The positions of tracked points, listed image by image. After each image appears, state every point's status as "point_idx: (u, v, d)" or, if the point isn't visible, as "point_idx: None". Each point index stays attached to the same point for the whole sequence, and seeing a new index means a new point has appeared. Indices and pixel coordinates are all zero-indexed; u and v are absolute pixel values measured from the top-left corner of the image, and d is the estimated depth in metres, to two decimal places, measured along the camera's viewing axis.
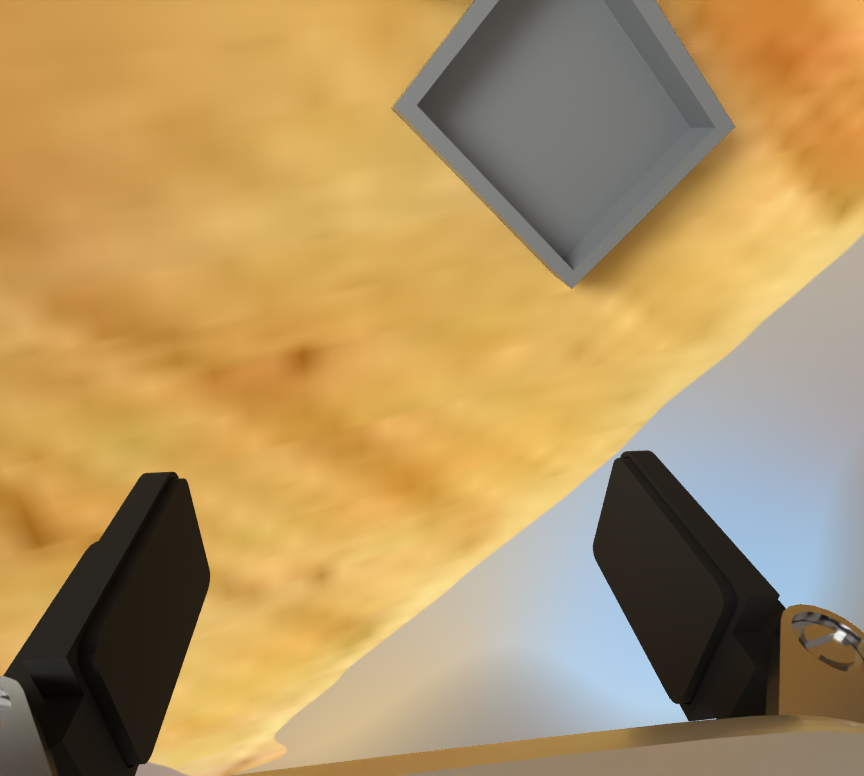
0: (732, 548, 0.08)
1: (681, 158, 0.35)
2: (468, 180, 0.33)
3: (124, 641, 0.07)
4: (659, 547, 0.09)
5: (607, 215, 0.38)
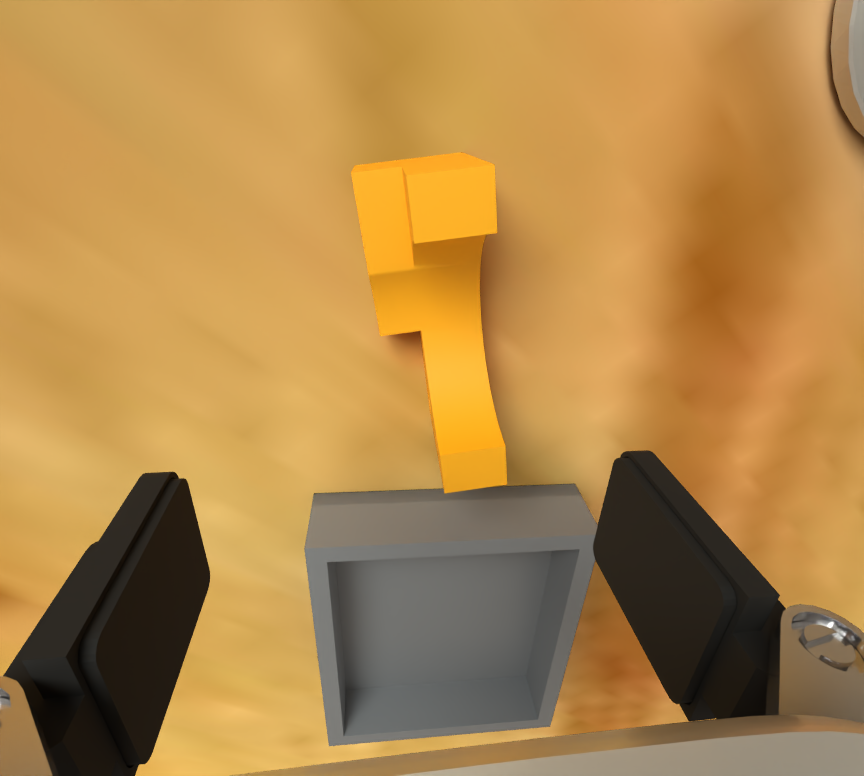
0: (732, 548, 0.08)
1: (498, 715, 0.33)
2: (317, 634, 0.27)
3: (124, 641, 0.07)
4: (659, 547, 0.09)
5: (414, 691, 0.35)
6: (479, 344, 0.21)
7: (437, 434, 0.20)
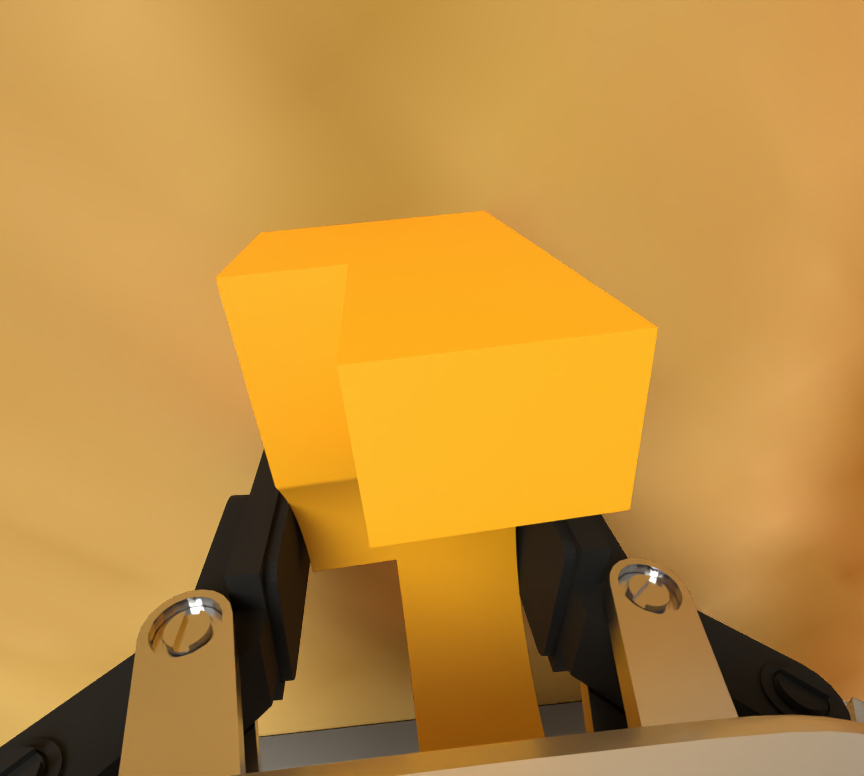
0: None
1: None
2: None
3: (285, 570, 0.08)
4: None
5: None
6: (510, 580, 0.11)
7: None
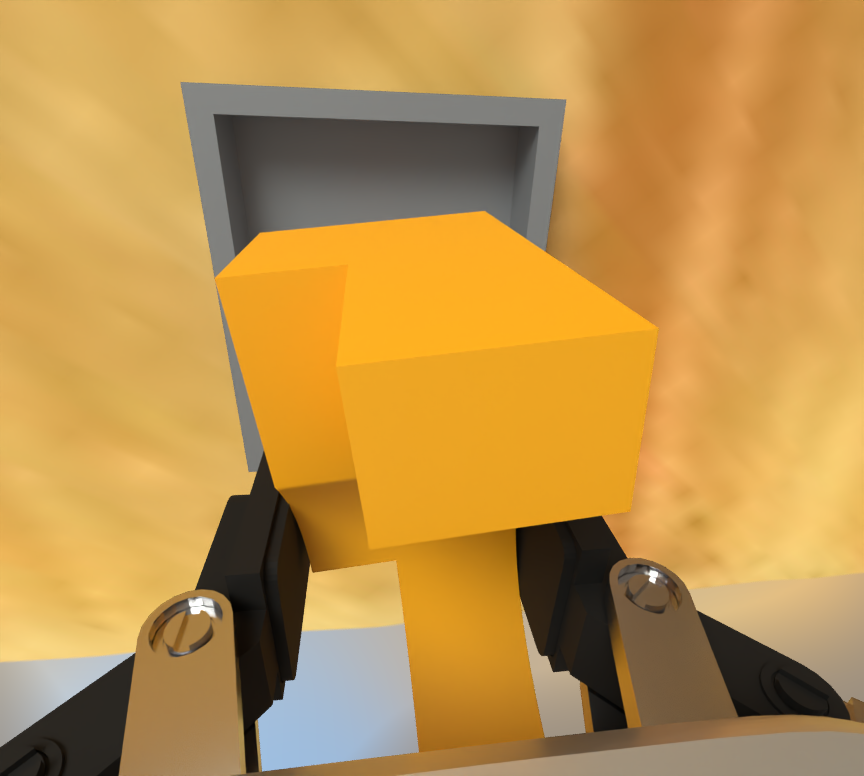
0: None
1: None
2: (213, 258, 0.21)
3: (285, 570, 0.08)
4: None
5: None
6: (510, 581, 0.11)
7: None
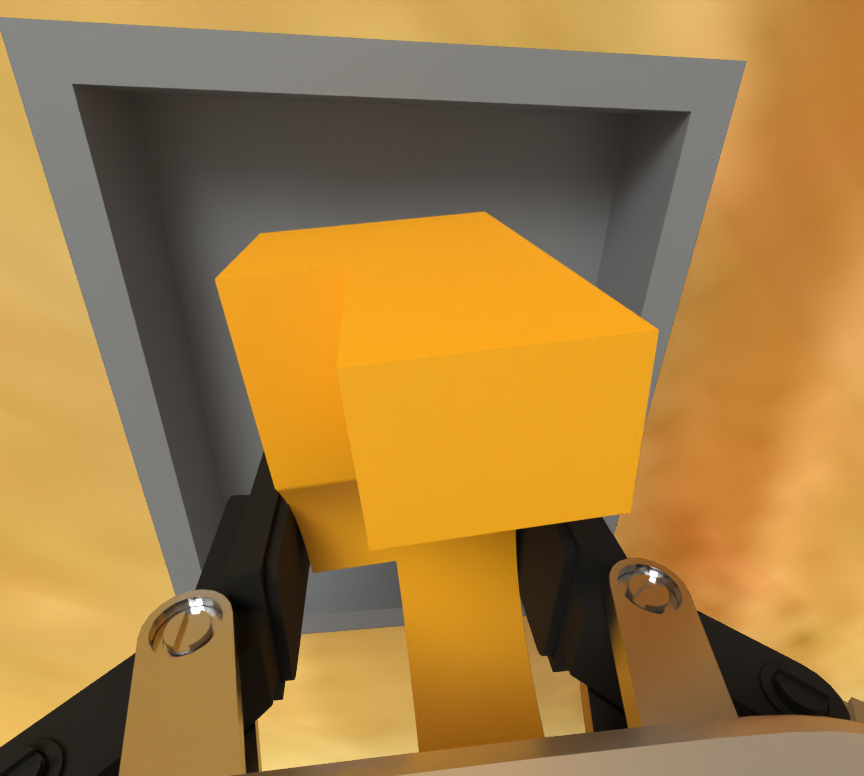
0: None
1: None
2: (102, 346, 0.12)
3: (285, 570, 0.08)
4: None
5: None
6: (510, 581, 0.11)
7: None
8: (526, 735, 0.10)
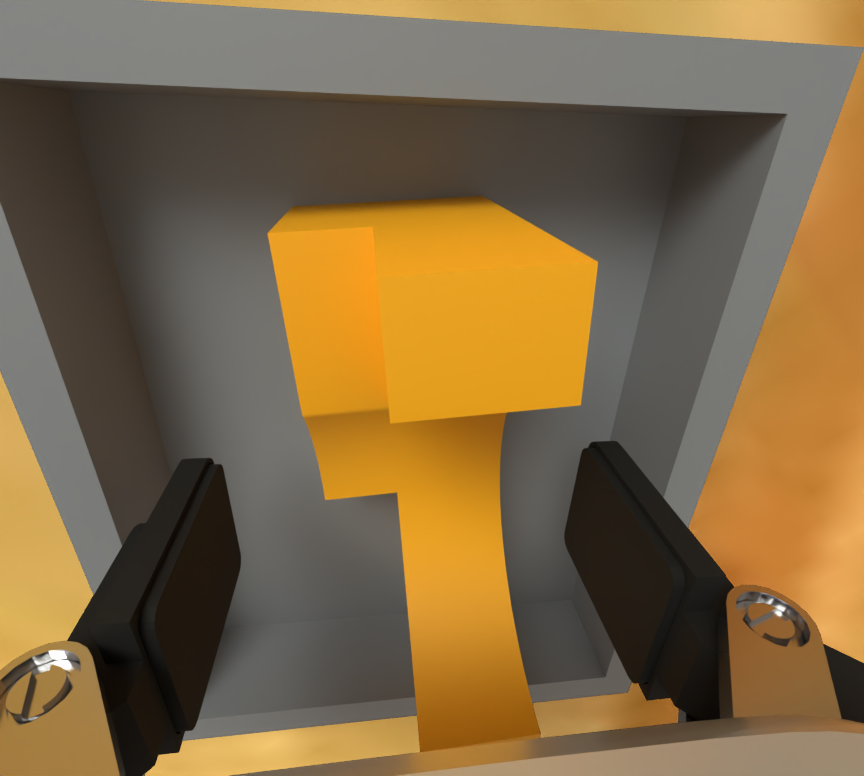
0: (685, 532, 0.08)
1: None
2: (24, 414, 0.09)
3: (175, 613, 0.08)
4: (619, 533, 0.09)
5: (351, 629, 0.17)
6: (494, 515, 0.13)
7: (417, 690, 0.11)
8: (503, 643, 0.12)
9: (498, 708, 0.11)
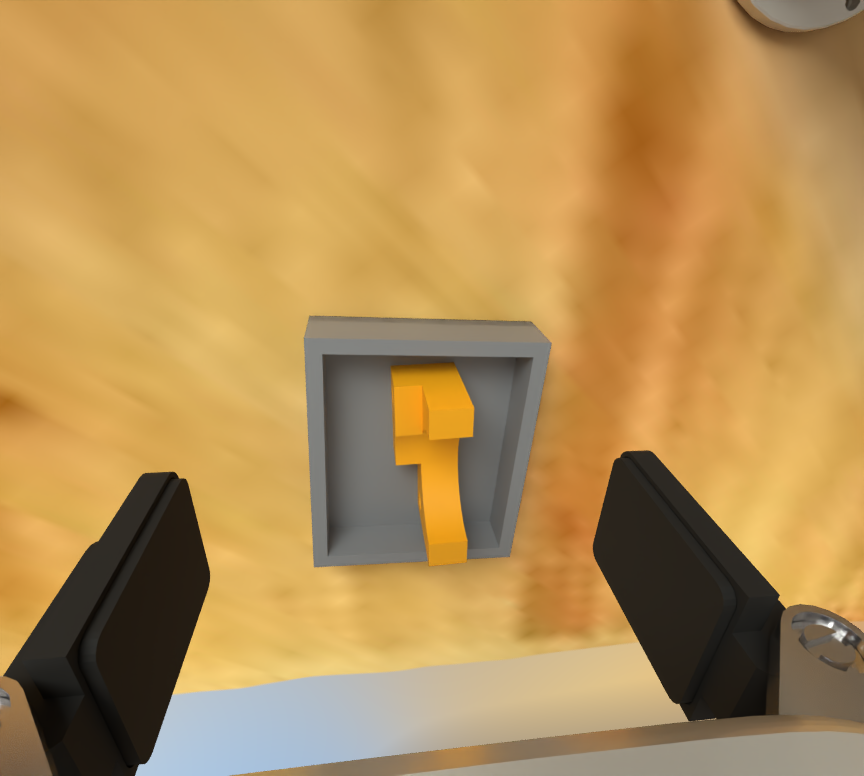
0: (732, 548, 0.08)
1: None
2: (309, 434, 0.31)
3: (124, 641, 0.07)
4: (659, 547, 0.09)
5: (390, 529, 0.39)
6: (455, 473, 0.34)
7: (427, 530, 0.33)
8: (457, 517, 0.34)
9: (454, 534, 0.33)
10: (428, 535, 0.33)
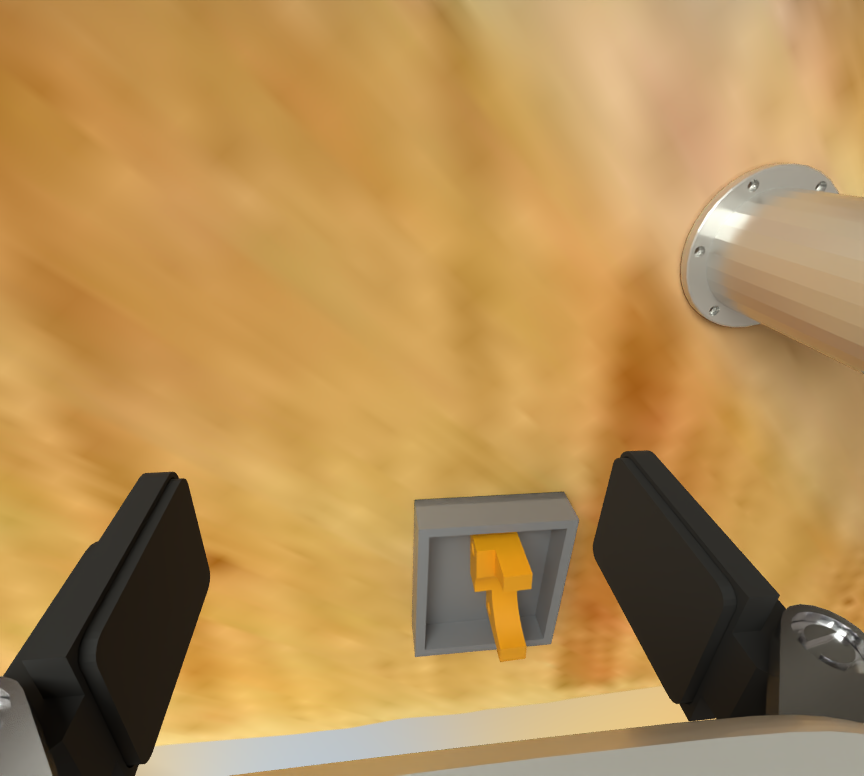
0: (732, 548, 0.08)
1: None
2: (418, 581, 0.47)
3: (124, 641, 0.07)
4: (659, 547, 0.09)
5: (465, 624, 0.55)
6: (515, 594, 0.50)
7: (498, 637, 0.49)
8: (517, 626, 0.49)
9: (517, 641, 0.48)
10: (499, 641, 0.48)
